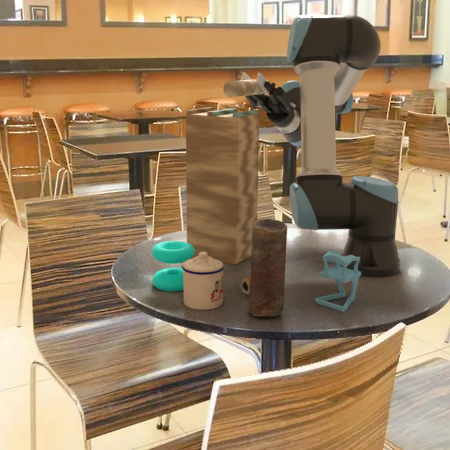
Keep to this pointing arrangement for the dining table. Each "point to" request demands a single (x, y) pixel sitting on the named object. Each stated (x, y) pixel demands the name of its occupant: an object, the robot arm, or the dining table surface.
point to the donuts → (172, 255)
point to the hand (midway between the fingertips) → (250, 77)
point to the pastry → (246, 285)
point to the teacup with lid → (203, 282)
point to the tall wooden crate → (222, 181)
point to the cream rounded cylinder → (242, 88)
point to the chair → (340, 278)
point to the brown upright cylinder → (267, 268)
